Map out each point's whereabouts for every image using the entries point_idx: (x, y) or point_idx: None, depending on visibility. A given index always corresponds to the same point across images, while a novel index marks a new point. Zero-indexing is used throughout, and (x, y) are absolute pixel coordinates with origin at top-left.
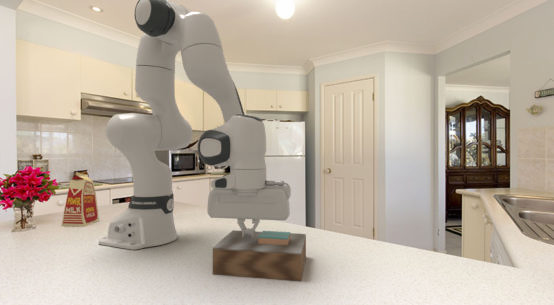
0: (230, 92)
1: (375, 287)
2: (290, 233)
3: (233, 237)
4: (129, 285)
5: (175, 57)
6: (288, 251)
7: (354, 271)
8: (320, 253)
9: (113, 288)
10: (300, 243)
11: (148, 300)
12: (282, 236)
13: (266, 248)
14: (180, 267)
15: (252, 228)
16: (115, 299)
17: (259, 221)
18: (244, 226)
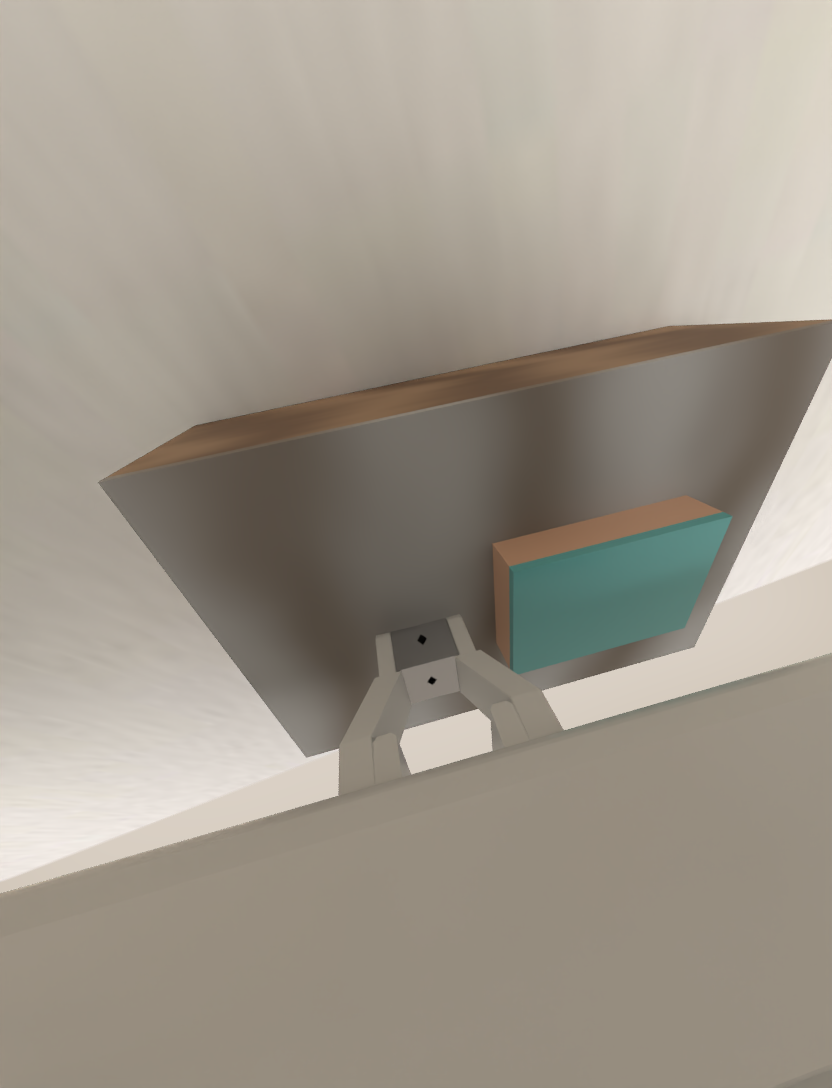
0: None
1: (813, 524)
2: (714, 359)
3: (291, 633)
4: (149, 776)
5: None
6: (645, 655)
7: (822, 432)
8: (778, 208)
9: (131, 795)
10: (724, 552)
11: (277, 774)
12: (658, 618)
13: (551, 670)
14: (144, 671)
15: (479, 704)
16: (204, 800)
17: (543, 698)
18: (397, 706)
